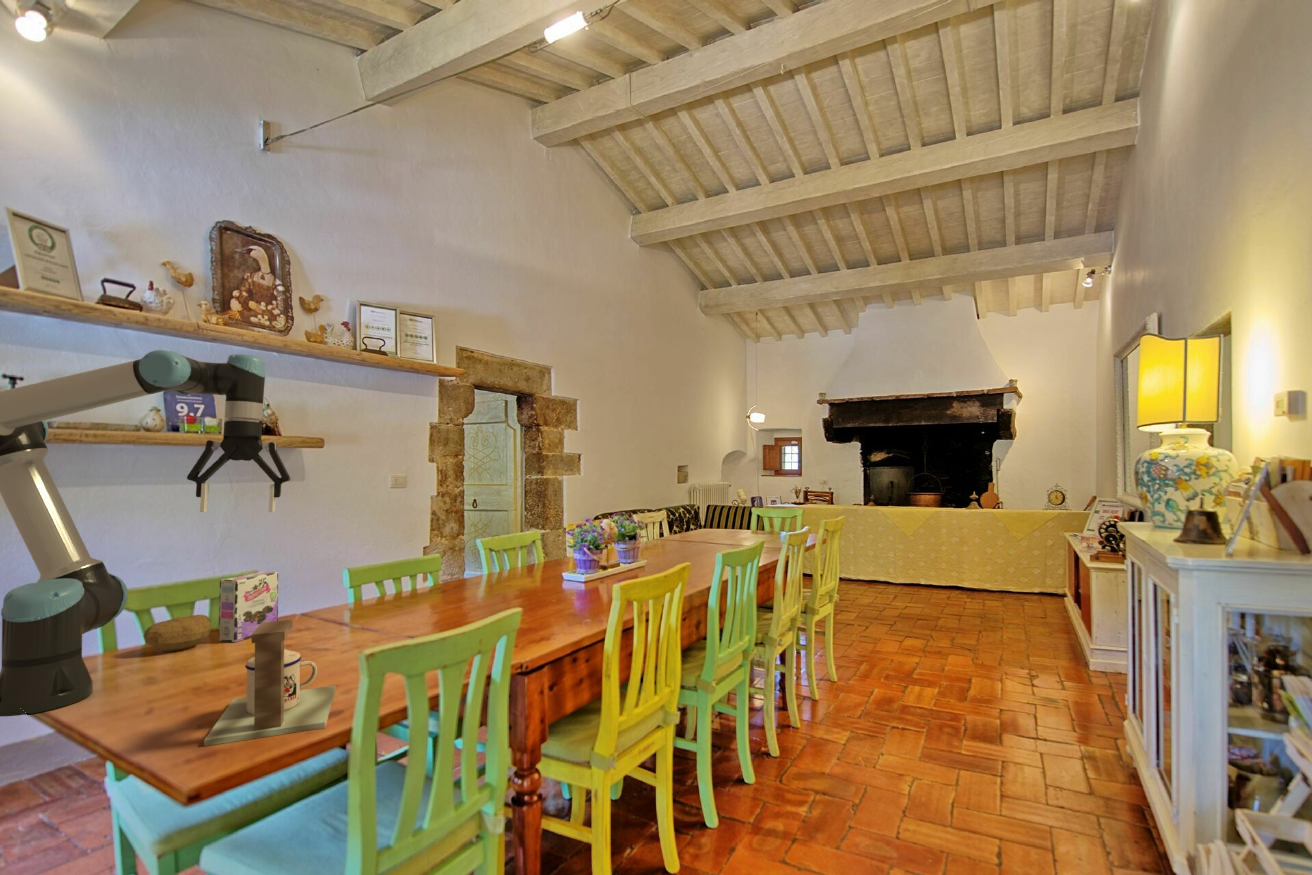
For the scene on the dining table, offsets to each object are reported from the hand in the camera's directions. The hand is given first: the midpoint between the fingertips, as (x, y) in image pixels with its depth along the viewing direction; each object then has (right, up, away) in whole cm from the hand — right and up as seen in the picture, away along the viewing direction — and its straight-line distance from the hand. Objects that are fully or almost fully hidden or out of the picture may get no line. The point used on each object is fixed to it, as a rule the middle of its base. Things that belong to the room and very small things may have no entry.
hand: (238, 512), depth 148 cm
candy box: (-14, -37, +26) cm, 48 cm away
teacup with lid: (+26, -34, -27) cm, 50 cm away
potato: (-24, -37, +14) cm, 46 cm away
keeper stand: (+26, -35, -29) cm, 52 cm away
